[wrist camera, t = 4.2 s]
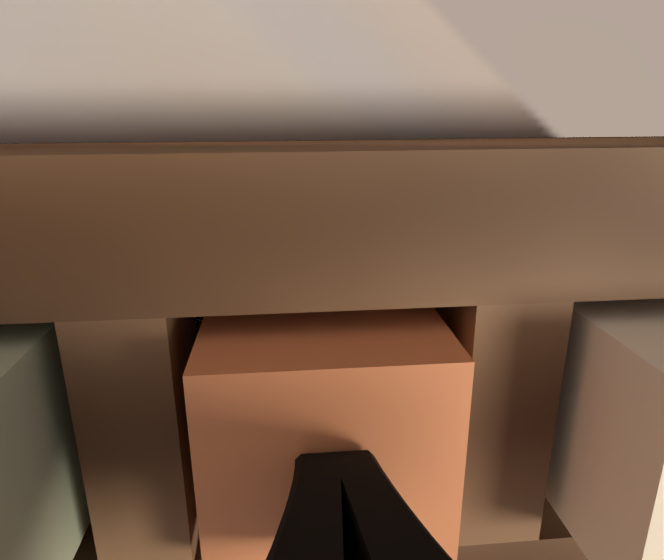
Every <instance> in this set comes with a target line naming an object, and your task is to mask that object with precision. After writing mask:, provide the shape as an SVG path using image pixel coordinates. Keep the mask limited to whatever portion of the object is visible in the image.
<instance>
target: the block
mask: <svg viewBox="0 0 664 560" xmlns="http://www.w3.org/2000/svg"><path fill="white" fill-rule="evenodd" d="M90 521H91V520H90V515H89V509H88V504H87V498H86V493H85V488H84V482H83V477H82V471H81V466H80V460H79V455H78V449H77V444H76V439H75V433H74V428H73V422H72V417H71V411H70V406H69V400H68V395H67V390H66V384H65V379H64V373H63V368H62V362H61V357H60V351H59V346H58V341H57V335H56V330H55V324H54V322H51V323H25V324H0V560H73V558H74V556H75V554H76V552H77V550H78V547H79V545H80V543H81V541H82V539H83V536H84V534H85V532H86V530H87V527H88V525H89V523H90Z"/></svg>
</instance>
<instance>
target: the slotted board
mask: <svg viewBox="0 0 664 560" xmlns="http://www.w3.org/2000/svg"><path fill="white" fill-rule="evenodd" d="M663 298H664V137H582V138H581V137H579V138H578V137H576V138H575V137H573V138H482V139H390V140H299V141H208V142H117V143H25V144H0V324H25V323H51V322H54V324H55V330H56V335H57V341H58V346H59V351H60V357H61V362H62V368H63V373H64V379H65V384H66V390H67V395H68V400H69V406H70V411H71V417H72V422H73V428H74V433H75V439H76V444H77V449H78V455H79V460H80V466H81V471H82V477H83V482H84V488H85V493H86V498H87V504H88V509H89V515H90V520H91V521H90V523H89V525H88V527H87V530H86V532H85V534H84V536H83V539H82V541H81V543H80V545H79V547H78V550H77V552H76V554H75V556H74V558H73V560H202V558H201V548H200V539H199V529H198V520H197V510H196V501H195V491H194V482H193V472H192V462H191V453H190V443H189V434H188V424H187V415H186V405H185V396H184V386H183V377H182V376H183V373H184V371H185V368H186V365H187V362H188V359H189V357H190V354H191V351H192V348H193V345H194V343H195V340H196V337H197V333H196V322H195V317H204V316H229V315H255V314H280V313H306V312H331V311H357V310H382V309H408V308H434V309H435V310H436V311H437V313H438V314H439V315H440V317H441V318H442V319H443V321H444V322H445V323H446V325H447V326H448V327H449V329H450V330H451V331H452V333H453V334H454V335H455V337H456V338H457V339H458V341H459V342H460V343H461V345H462V346H463V347H464V349H465V350H466V351H467V353H468V354H469V355H470V356H471V358H472V359H473V360H474V362H475V365H474V376H473V387H472V399H471V410H470V421H469V432H468V444H467V455H466V466H465V477H464V488H463V500H462V511H461V522H460V533H459V545H458V556H457V560H588V559H587V558H586V556H585V555H584V553H583V552H582V550H581V549H580V548H579V546H578V545H577V543H576V542H575V540H574V539H573V537H572V536H571V534H570V533H569V531H568V530H567V528H566V527H565V525H564V524H563V522H562V521H561V519H560V518H559V516H558V515H557V514H556V512H555V511H554V509H553V508H552V506H551V505H550V503H549V502H548V500H547V499H546V497H545V494H546V488H547V481H548V474H549V468H550V461H551V454H552V447H553V441H554V434H555V427H556V420H557V414H558V407H559V400H560V394H561V387H562V380H563V373H564V367H565V360H566V353H567V346H568V340H569V333H570V326H571V320H572V313H573V306H574V302H586V301H612V300H637V299H663Z"/></svg>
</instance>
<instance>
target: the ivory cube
mask: <svg viewBox="0 0 664 560" xmlns="http://www.w3.org/2000/svg"><path fill="white" fill-rule="evenodd" d="M545 497H546V499H547V500H548V502H549V503H550V505H551V506H552V508H553V509H554V511H555V512H556V514H557V515H558V516H559V518H560V519H561V521H562V522H563V524H564V525H565V527H566V528H567V530H568V531H569V533H570V534H571V536H572V537H573V539H574V540H575V542H576V543H577V545H578V546H579V548H580V549H581V550H582V552H583V553H584V555H585V556H586V558H587V559H588V560H664V298H663V299H637V300H612V301H586V302H574V306H573V313H572V320H571V326H570V333H569V340H568V346H567V353H566V360H565V367H564V373H563V380H562V387H561V394H560V400H559V407H558V414H557V420H556V427H555V434H554V441H553V447H552V454H551V461H550V468H549V474H548V481H547V488H546V494H545Z"/></svg>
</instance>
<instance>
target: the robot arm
mask: <svg viewBox="0 0 664 560" xmlns="http://www.w3.org/2000/svg"><path fill="white" fill-rule="evenodd" d="M266 560H453V559H452V558H451V557H450V556H449V555H448V554H447V553H446V551H445V550H444V549H443V548H442V547H441V546H440V544H439V543H438V542H437V541H436V540H435V539H434V537H433V536H432V535H431V534H430V532H429V531H428V530H427V529H426V527H425V526H424V525H423V524H422V522H421V521H420V520H419V519H418V517H417V516H416V515H415V514H414V512H413V511H412V510H411V509H410V507H409V506H408V505H407V503H406V502H405V501H404V499H403V498H402V497H401V495H400V494H399V492H398V491H397V490H396V488H395V487H394V485H393V484H392V483H391V481H390V480H389V478H388V477H387V475H386V474H385V472H384V471H383V469H382V468H381V466H380V465H379V463H378V461H377V460H376V458H375V456H374V455H373V454H372V453H371V452H370V451H369V450H356V451H340V452H323V453H307V454H300V455H299V456H298V457H297V458H296V459H295V469H294V475H293V481H292V485H291V489H290V493H289V496H288V500H287V503H286V507H285V510H284V513H283V516H282V518H281V521H280V524H279V527H278V530H277V533H276V535H275V538H274V541H273V543H272V546H271V549H270V551H269V553H268V556H267V558H266Z"/></svg>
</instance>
